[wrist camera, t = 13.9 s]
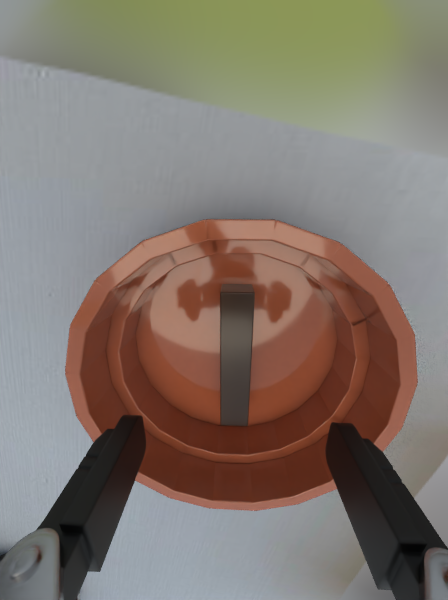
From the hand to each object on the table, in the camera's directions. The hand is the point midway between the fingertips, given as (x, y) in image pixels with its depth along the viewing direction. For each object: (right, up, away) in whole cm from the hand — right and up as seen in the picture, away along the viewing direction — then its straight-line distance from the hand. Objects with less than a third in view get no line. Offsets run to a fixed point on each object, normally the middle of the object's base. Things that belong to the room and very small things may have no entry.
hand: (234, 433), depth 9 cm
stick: (0, +2, +7) cm, 7 cm away
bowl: (0, +2, +7) cm, 8 cm away
